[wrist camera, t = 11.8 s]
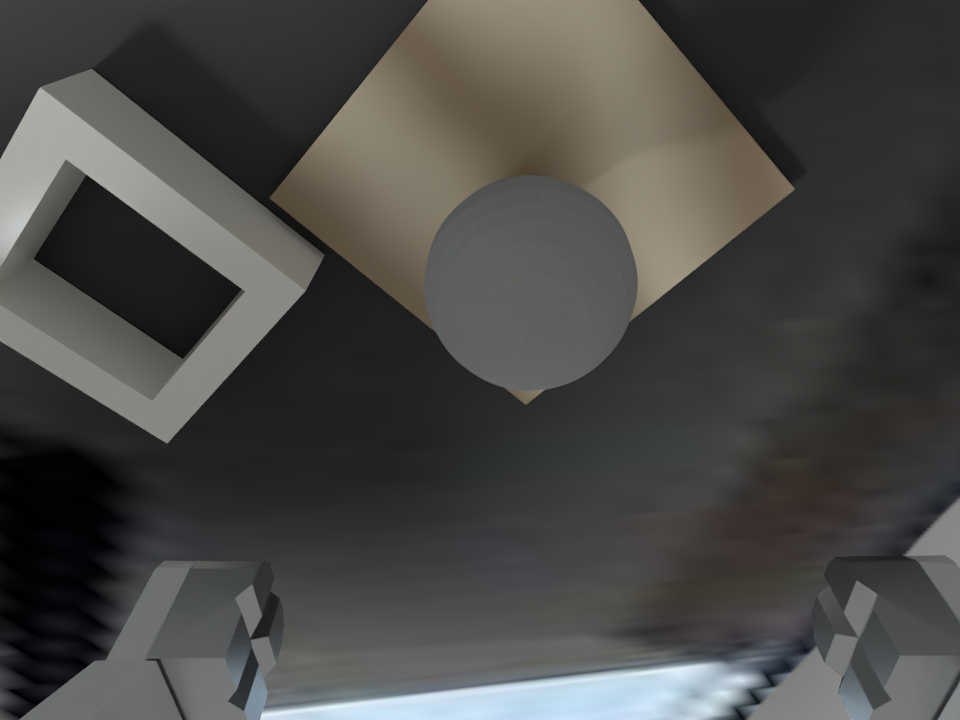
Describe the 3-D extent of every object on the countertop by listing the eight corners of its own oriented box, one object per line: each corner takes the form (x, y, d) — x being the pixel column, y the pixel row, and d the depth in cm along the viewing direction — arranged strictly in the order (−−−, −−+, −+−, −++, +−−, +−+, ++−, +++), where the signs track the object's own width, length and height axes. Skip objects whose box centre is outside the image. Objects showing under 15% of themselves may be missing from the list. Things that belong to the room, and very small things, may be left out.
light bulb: (563, 86, 22) (598, 174, 13) (625, 229, 24) (689, 382, 16) (418, 163, 23) (365, 287, 15) (490, 291, 26) (481, 462, 17)
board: (525, 396, 29) (525, 404, 29) (274, 192, 25) (269, 198, 24) (788, 183, 24) (795, 189, 23) (530, -128, 19) (531, -129, 19)
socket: (195, 399, 30) (167, 443, 27) (-20, 259, 26) (-75, 295, 24) (324, 254, 26) (305, 290, 23) (91, 68, 23) (40, 87, 20)
